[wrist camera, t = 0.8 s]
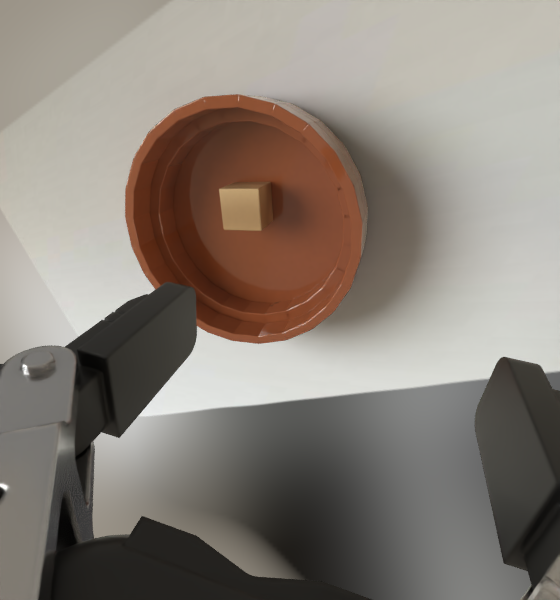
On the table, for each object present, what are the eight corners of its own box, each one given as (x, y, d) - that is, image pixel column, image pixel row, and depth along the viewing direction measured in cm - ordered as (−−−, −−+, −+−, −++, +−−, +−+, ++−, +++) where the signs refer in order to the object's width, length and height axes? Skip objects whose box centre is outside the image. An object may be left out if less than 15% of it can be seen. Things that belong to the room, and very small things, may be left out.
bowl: (143, 105, 30) (99, 104, 25) (374, 89, 25) (368, 84, 21) (179, 306, 37) (150, 332, 33) (362, 322, 33) (356, 354, 28)
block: (234, 181, 30) (218, 188, 27) (271, 181, 29) (258, 188, 26) (238, 220, 31) (223, 230, 29) (273, 221, 30) (261, 231, 28)
